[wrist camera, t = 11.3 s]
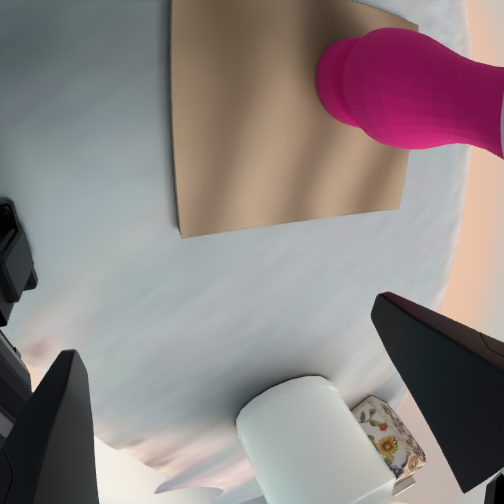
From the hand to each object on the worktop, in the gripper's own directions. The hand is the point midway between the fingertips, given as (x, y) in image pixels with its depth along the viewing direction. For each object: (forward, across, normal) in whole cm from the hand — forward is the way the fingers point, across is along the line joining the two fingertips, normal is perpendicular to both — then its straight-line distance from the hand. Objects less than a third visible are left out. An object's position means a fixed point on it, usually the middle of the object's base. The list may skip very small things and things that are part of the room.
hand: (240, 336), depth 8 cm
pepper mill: (+12, -11, -7) cm, 18 cm away
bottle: (+14, -10, +30) cm, 34 cm away
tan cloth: (+13, -8, -5) cm, 17 cm away
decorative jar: (+14, -26, +45) cm, 54 cm away
